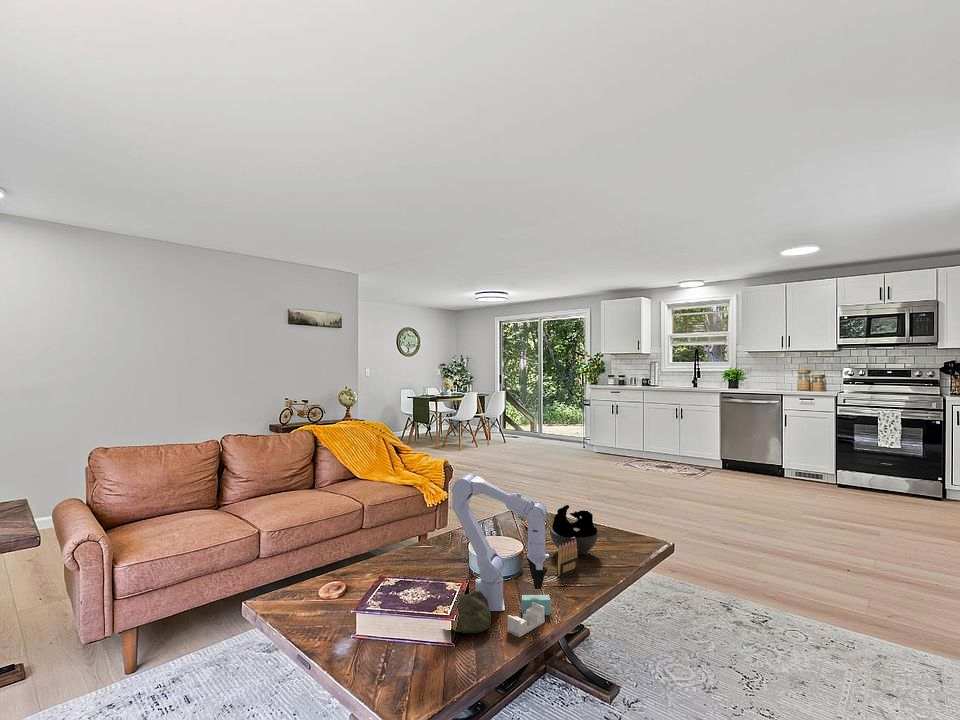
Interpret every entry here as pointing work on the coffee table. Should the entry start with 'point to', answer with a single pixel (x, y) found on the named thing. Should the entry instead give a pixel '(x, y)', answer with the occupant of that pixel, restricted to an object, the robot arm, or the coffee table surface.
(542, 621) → the stand
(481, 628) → the decorative rock
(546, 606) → the teal block
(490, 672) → the coffee table surface
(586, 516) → the coal bowl
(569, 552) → the ammunition clip
